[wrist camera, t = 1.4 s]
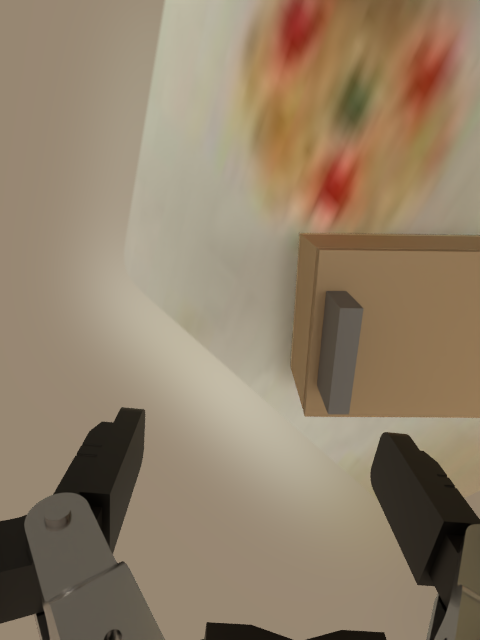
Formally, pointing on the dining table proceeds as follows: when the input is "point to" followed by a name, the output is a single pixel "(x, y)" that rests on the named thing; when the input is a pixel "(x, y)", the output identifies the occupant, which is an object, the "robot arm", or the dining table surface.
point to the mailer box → (356, 241)
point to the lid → (394, 334)
